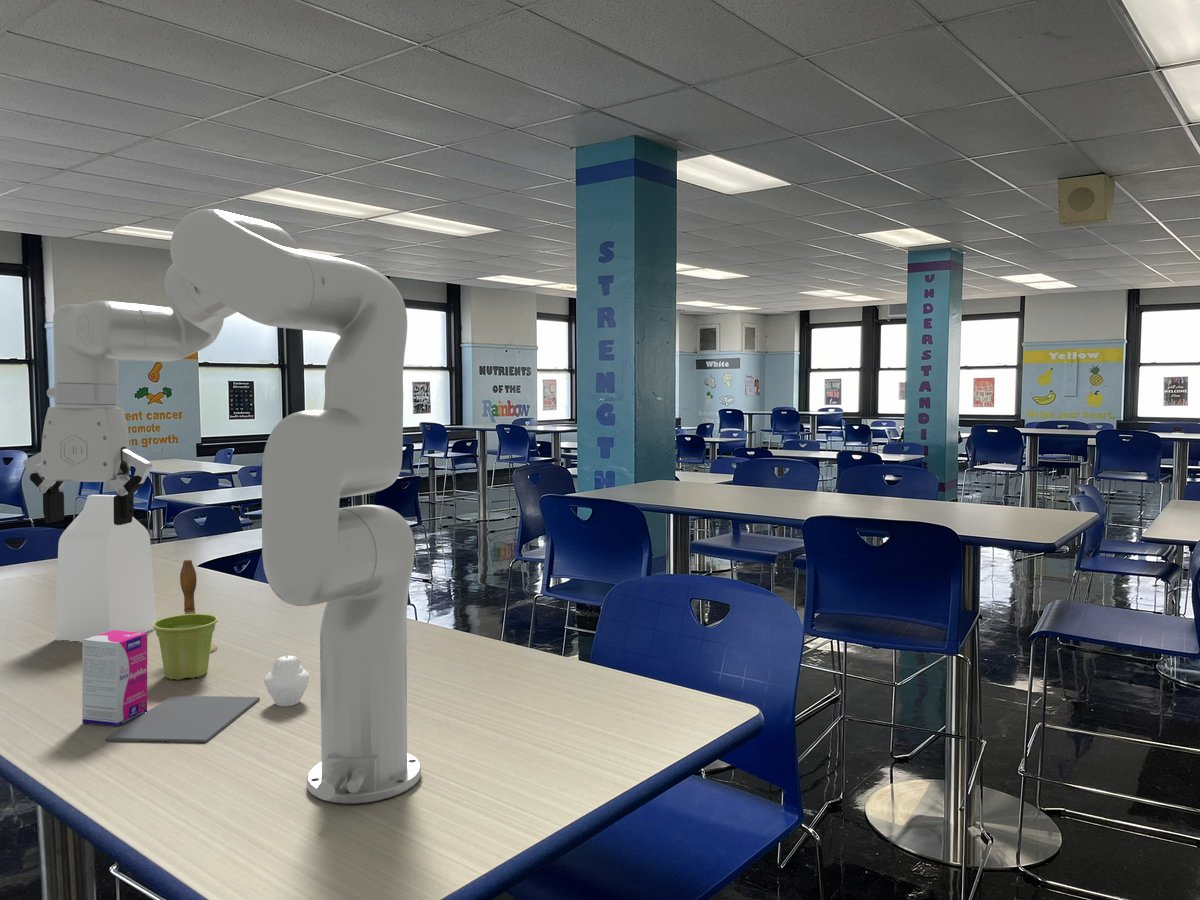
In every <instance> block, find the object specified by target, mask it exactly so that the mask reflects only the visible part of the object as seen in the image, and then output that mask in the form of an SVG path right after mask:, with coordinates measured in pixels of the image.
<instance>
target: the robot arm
mask: <svg viewBox="0 0 1200 900" xmlns="http://www.w3.org/2000/svg"><path fill="white" fill-rule="evenodd" d="M171 235H172V236H171V238H170V247H169V251H170V258H171V261H172V264H171V265H170V266H169V267H168V269H167V271H166V273H165V275H164V288H165V294H166V296H167V299H168V300H169V302H170V304H171V305H170V306H169V305H168V306H158V305H150V304H141V303H136V302H135V303H133V302H122V301H113V300H93V301H89V302H86V303H84V304H77V303H76V304H74V303H73V304H70V303H69V304H62V305H60V306H58V307H56V309H55V310H54V312H53V315H52V320H53V321H52V327H53V328H52V331H53V332H52V333H53V339H52V341H53V381H54V383H53V387H48V389H47V390H46V395H47V397H48V398H51V399H53V403H54V406H48V407H47V411H46V415H45V418H44V424H43V429H42V430H43V431H42V437H41V448H40V450H41V451H39V452H38V453H36V454H34V455H32V456H30V457H28V458H26V459H24V460H23V462H22V463H23V466H24V467H25V470H26V472H27V474H28V475H29V480H30V481H31V483H33V484H34V485H35V487H37V491H38V493H40V494H42V514H43V520H44V521H43V522H44V523H45V524H51V523H57V522H60V521H63V520H64V519H65V493H64V491H60V489H61V488H62V487H64V484H65V483H66V482H78V483H79V482H80V483H81V482H83V483H84V482H85V483H104V482H108V483H109V484H110V486H111V487H112V488H113V489H114V491H115V492H116V493H117V496H114V524H115V525H123V524H127V523H131V522H132V517H134V513H135V509H134V502H135V501H134V500H135V497H134V496H135V495H134V494H137V492H138V491H139V489H141V487H142V486H143V485H144V484H145V483H146V482H147V478H148V476H149V474H150V472H151V470H152V468H153V464H152V462H150V461H149V460H147V459H145V458H143V457H142V456H139V455H137V454H136V453H134V452H133V451H131V445H130V437H129V430H128V424H127V419H126V416H125V412H124V409H123V407H120V405H119V404H120V399H119V398H120V397H119V395H120V394H119V392H120V391H119V388H120V387H119V382H120V381H119V361H142V362H158V363H159V362H160V363H167V362H175V361H178V360H182V359H185V358H188V357H189V356H192V355H193V354H196V353H197V352H200V351H202V350H203V349H205V348H207V347H209V346H211V344H213V343H214V342H215V341H216V340H217V338H218V336H219V334H220V333H221V331H222V327H223V325H224V321H225V319H226V318H228V317H230V316H233V315H235V314H236V313H239V314H240V315H242V316H244V317H246V318H248V319H249V320H252V321H253V322H257V323H259V324H260V325H264V326H268V327H269V326H270V327H275V328H280V329H281V328H282V329H283V328H284V329H291V330H300V331H301V330H303V331H310V332H311V331H312V332H325V333H331V334H336V335H338V336H339V337H340V338H339V339H338V340H337V342H336V343H335V344H334V347H333V348H332V350H331V352H330V355H329V356H328V359H327V363H326V366H325V372H324V399H323V400H324V401H323V409H307V410H301V411H297V412H294V413H291V414H289V415H287V416H285V417H283V419H281V420H280V421H279V422H278V423H277V424H276V425H275V426H274V427H273V429H272V431H271V432H270V435H269V437H268V438H267V441H266V444H265V446H264V451H263V453H262V454H263V455H262V463H261V465H262V466H261V467H262V468H261V553H262V556H261V557H262V565H263V571H264V574H265V577H266V580H267V581H266V582H267V583H268V585H269V587H270V588H271V590H272V592H273V593H274V594H275V596H277V598H279V599H280V600H281V601H283V602H284V603H286V604H289V605H291V606H296V607H309V606H315V605H320V604H324V603H326V604H325V607H324V611H323V614H322V618H321V622H320V623H321V624H320V632H319V666H320V671H319V672H320V675H319V678H320V727H321V728H320V735H321V736H320V739H321V740H320V745H321V746H320V747H321V749H320V750H321V761H319V762H318V763H317V764H316V765H315V766H313V767H312V768H311V769H310V771H309V772H308V773H307V776H306V786H307V790H308V791H309V792H310V794H311V795H312V796H314V797H316V798H318V799H320V800H323V801H325V802H330V803H336V804H367V803H373V802H377V801H382V800H386V799H389V798H392V797H395V796H398V795H400V794H403V793H405V792H407V791H408V790H409V789H411V788H412V787H414V786H415V785H416V784H417V783H418V782H419V780H420V778H421V775H422V765H421V762H420V760H419V759H418V758H417V757H415V756H414V755H413V754H410V753H409V752H408V695H407V694H408V689H407V686H408V683H407V682H408V681H407V680H408V679H407V677H408V676H407V675H408V674H407V672H408V670H407V669H408V667H407V666H408V665H407V664H408V663H407V660H408V659H407V642H408V640H407V636H408V635H407V631H408V630H407V627H408V625H407V622H408V620H407V619H408V615H407V614H408V600H409V590H410V586H411V579H412V578H411V577H412V574H413V569H414V563H415V562H414V561H415V539H414V535H413V532H412V530H411V527H410V525H409V523H408V521H407V520H406V519H405V518H404V517H403V516H402V515H401V514H400V513H399V512H397V511H396V510H394V509H392V508H389V507H387V506H384V505H378V504H377V505H376V504H362V505H353V506H347V507H342V508H341V507H340V499H342V498H347V497H354V496H362V495H367V494H372V493H377V492H380V491H384V490H385V489H387V488H389V487H390V486H392V485H393V484H394V483H395V482H396V481H397V479H398V477H399V475H400V473H401V470H402V465H403V464H402V463H403V451H404V450H403V445H404V441H403V440H404V438H403V437H404V436H403V434H404V433H403V432H404V363H405V353H406V345H407V339H408V338H407V336H408V314H407V308H406V304H405V301H404V299H403V296H402V294H401V293H400V291H399V289H398V288H397V286H396V285H395V284H394V283H393V282H392V281H391V280H390V279H389V278H388V277H387V276H386V275H384V274H382V273H381V272H379V271H378V270H376V269H373V268H372V267H369V266H367V265H363V264H361V263H358V262H356V261H351V260H349V259H343V258H339V257H334V256H330V255H325V254H319V253H314V252H310V251H309V252H308V251H305V250H304V251H303V250H301V249H300V248H299V246H298V244H297V242H296V241H295V240H294V238H293V236H291V235H290V233H288V232H287V231H286V230H284V229H283V228H281V227H280V226H278V225H276V224H274V223H271V222H268V221H265V220H262V219H257V218H253V217H249V216H245V215H240V214H236V213H234V212H233V213H232V212H228V211H225V210H220V209H213V208H205V209H199V210H196V211H193V212H191V213H189V214H187V215H186V216H185V217H184V218H182V219H181V220H180V221H179V223H178V224H177V225H176V227H175V228H174V231H173V232H172V234H171ZM131 466H132V467H133V468H135V472H134V475H133V476H131V478H130V473H131Z"/></svg>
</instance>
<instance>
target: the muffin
mask: <svg viewBox="0 0 1200 900" xmlns="http://www.w3.org/2000/svg"><path fill="white" fill-rule="evenodd" d="M309 681H310V674H309V672H308V671H307V670H306V669H305V668H304V667H303V666H302V665H301V661H300V659H299V658H298V657H297V656H295V655H288V654H287V655H283V656H281V657H278V658H277V659H276V660H274V663H273V667H272V668H271V670H270V672H268V673H267V674H266V675H265V678H264V682H263V683H264V685H265V688H266V691H267V693H268V694H269V695H270V697H271V698H272V700H273V702H274V704H275V705H276V706H278V707H292V706H295V705H297V704H299V703H300V702H301V699H302V697H303V695H304V694H305V691H306V690H307V687H308V683H309Z"/></svg>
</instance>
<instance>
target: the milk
mask: <svg viewBox="0 0 1200 900" xmlns="http://www.w3.org/2000/svg"><path fill="white" fill-rule="evenodd" d="M117 495H118V494H117ZM117 495H114V494H112V495H111V494H87V497H86V501H85V503H84V506H83V510H81V512H79V514H78V515H77V516H76V517H75V518H74V519H73V520H72V522H70V524H69V525H68V526H67V527H66V529H65V530H64V531H63V532H62V534H61V535H60V537H59V539H58V544H57V545H58V549H57V571H56V572H57V573H56V599H55V600H56V601H55V602H56V603H55V632H54V636H55V637H54V640H55V641H61V640H69V641H68V642H73V641H81V642H80V643H82V641H83V640H84V639H87V638H90V637H93V636H96V635H99V634H103V633H106V632H109V631H112V630H119V631H128V632H141V633H145V632H146V633H149V632H151V630H152V631H154V628H153V623H154V622H155V621H157V619H158V617H157V615H158V614H157V607H156V605H157V604H156V596H155V595H156V593H155V591H156V590H155V582H154V581H155V580H154V571H153V569H154V568H153V560H152V559H153V558H152V557H153V556H152V548H151V547H152V546H151V536H150V533H149V531H148V530H147V528H146V527H145V526H144V525H143V524H142V523H141V522H140V521H139V520H137V519H136V518H135V517H134V516H133V517H132V522H131V523H127V524H123V525H115V524H114V496H117ZM148 631H149V632H148Z"/></svg>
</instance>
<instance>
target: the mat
mask: <svg viewBox="0 0 1200 900" xmlns="http://www.w3.org/2000/svg"><path fill="white" fill-rule="evenodd" d="M260 700H261V697H260V696H215V695H214V696H212V695H211V696H210V695H209V696H207V695H171V696H169V697H168V698H165V700H163V701H161V702H160V703H158V704H157V705H155V706H153V707H152V708H150V709H149V710H147V712H146V713H144V714H142V715H139V716H137V717H135V718H134V719H132V721H130V722H129V723H126V724H125V725H124V726H122V727H120V728H119V729H117V730H116V731H114V732H113V733H111V734H110V735H108V736H107V737H106V738H105V741H106V742H140V741H162V742H161V743H164V742H163V741H167V742H166V743H195V742H204V743H203V744H205V742H206V743H208V742H209V741H210V740H211V739H213V738H214V737H215V736H217V735H218V734H219V733H220V732H221V731H222V730H224V729H226V728H227V727H228V726H230V724H232V723H233V722H234V721H235V720H236V719H238V718H239V717H240V716H242V715H243V714H244V713H245V712H247V711H248V710H249V709H250V708H251V707H253V706H254V705H255V704H256V703H258V702H259V701H260ZM217 733H218V734H217ZM107 740H108V741H107ZM168 741H169V742H168Z"/></svg>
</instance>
